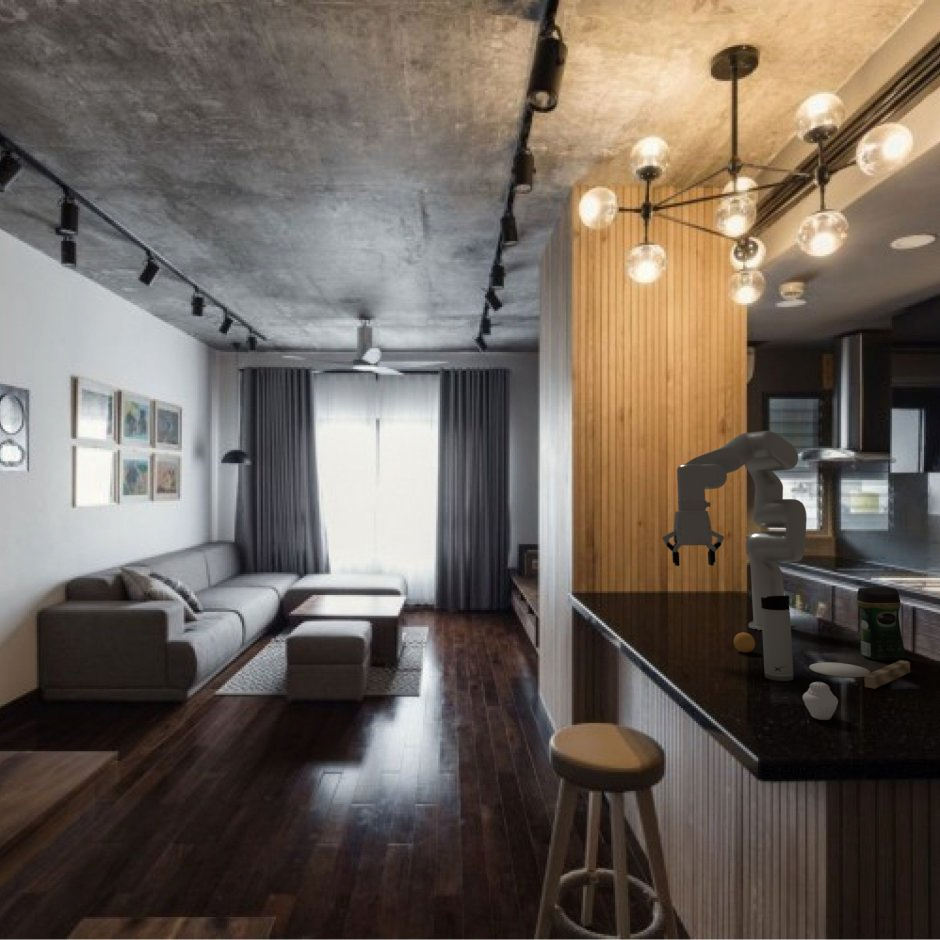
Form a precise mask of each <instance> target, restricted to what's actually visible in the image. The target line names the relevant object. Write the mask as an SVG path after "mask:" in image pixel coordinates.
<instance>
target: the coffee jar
mask: <svg viewBox="0 0 940 940" xmlns="http://www.w3.org/2000/svg"><path fill="white" fill-rule="evenodd" d="M898 591H899V590H898V589H896V588H892V587H888V586H885V587H884V586H872V587H859V588H858V590H857V596H856V597H857V598H856V601H857V605H858V608H859V610H860V619H861V621H860V622H861V624H860V625H861V627H860V629H861V630H860V654H861V656H862V657H864V658H865V659H870V660H873V661H874V660H875V661H882V662H883V661H900V660H901V661H903V659H905V657H906V654H905V653H906V652H905V646H904V641H903V637H902V631H901V625H900V617H899V616H900V615H899V613H900V608H901V605H902V603H901V599H900V594H899V592H898Z"/></svg>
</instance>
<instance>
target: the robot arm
mask: <svg viewBox="0 0 940 940" xmlns="http://www.w3.org/2000/svg"><path fill="white" fill-rule="evenodd" d="M798 461H799V455H798V451H797V449H796V448H795V446H794V445H793V444H792V443H790V442H789V441H788V440H787V439H785V438H784V437H783V436H781V435H779V434H777V433H776V432H775V431H771V430H762V431H759V430H758V431H752V432H743V433H740V434H737V435H736V436H735V437H734V438H732V439H731V440H729V441H728V442H727V443H726V444H724V445H723V446H721V447H719V448H717V449H713V450H710V451H709V452H706V453H704V454H700V455H698V456H696V457H693V458H692V459H690V460H689V461H687V462H686V463H684V464H680V465H678V467H677V468H676V482H677V485H676V486H677V502H678V503H677V506H678V511H675V512H674V520H673V530H672V531H671V532H668V534H665V535H663V536H662V537H661V538H662V541H663V542H664V544H665V546H666V547H667V548H668V549H669V550H670V551H671V552H672V555H671V556H672V563H673V564H674V566H676V567H679V566H680V565H681V564H680V552H679V549H680V548H681V547H682V546H705V547H707V548H708V551H707V564H708V566H711V567H712V566H714V565H715V563H716V552H717V550H718V549H719V548H720V547H721V546H722V543H723V542H724V539H725V536H724V535H722V534H720V533H718V532H716V531H713V530H712V525H711V520H710V519H711V517H710V514H709V511H708V510H707V508H708V507H709V508H710V507H711V505H712V504H711V502H709V501H707V500H706V491H705V490H716V489H720V488H721V487H723V486H724V485H725V484H726V482H727V480H728V479H727V477H728V475H727V474H729V473H733V472H736V471H737V470H739V469H741V468H742V467H743V466H745V469H746V470H747V471H748V473H749V474H750V476H751V478H752V480H753V483H754V491H755V492H754V503H753V521H754V524H755V525H756V526H758V527H761V528H767V529H768V528H769V529H785V531H762V530H761V531H756V532H753V533H751V534H750V535H748V537H747V538H746V541H745V542H746V543H745V545H746V552H747V556H748V560H749V565H750V579H751V583H750V584H751V599H752V616H753V620H752V621H750V622H749V623H748V628H749V629H752V630H755V629H757V630H756V631H760V630H762V613H761V611H762V610H761V605H762V604H761V597H763V598H767V596H785V594H784V593H785V592H784V591H785V588H784V576H783V575H784V574H783V572H782V569H781V568H780V566H779V565H778V563H777V562H783V563H784V562H786V563H796V562H800V561H801V560H802V559H803V557H804V555H805V550H806V538H807V537H806V535H807V523H808V522H807V515H808V514H807V510H806V507H805V505H804V503H803V502H802V501H801V500H799V499H794V498H784V485H783V482H782V481H781V479H780V478H779V476H778V475H777V474H776V473H775V472H776V471H777V472H779V471H791V470H793V469H794V468H795V467H796V466H797V464H798ZM713 537H714V538H716V539H717V540H716V542H714V543H713ZM671 538H673V541H674V542H673V543H674V544H672V543H671V542H670V539H671Z"/></svg>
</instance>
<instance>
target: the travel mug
mask: <svg viewBox="0 0 940 940" xmlns="http://www.w3.org/2000/svg"><path fill="white" fill-rule="evenodd" d="M761 604H762V605H761V610H762V611H761V613H762V631H761V632H762V647H763V648H762V649H763V650H762V651H763V665H764V677H765V678H766V679H768V680H770V681H771V680H772V681H775V682H789V681H792V680H794V663H793V662H794V661H793V647H792V646H793V644H792V643H793V642H792V625H791V613H790V612H791V607H790V595H787V594H786V595H785V594H784V596H767V598H763V597H761Z"/></svg>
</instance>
